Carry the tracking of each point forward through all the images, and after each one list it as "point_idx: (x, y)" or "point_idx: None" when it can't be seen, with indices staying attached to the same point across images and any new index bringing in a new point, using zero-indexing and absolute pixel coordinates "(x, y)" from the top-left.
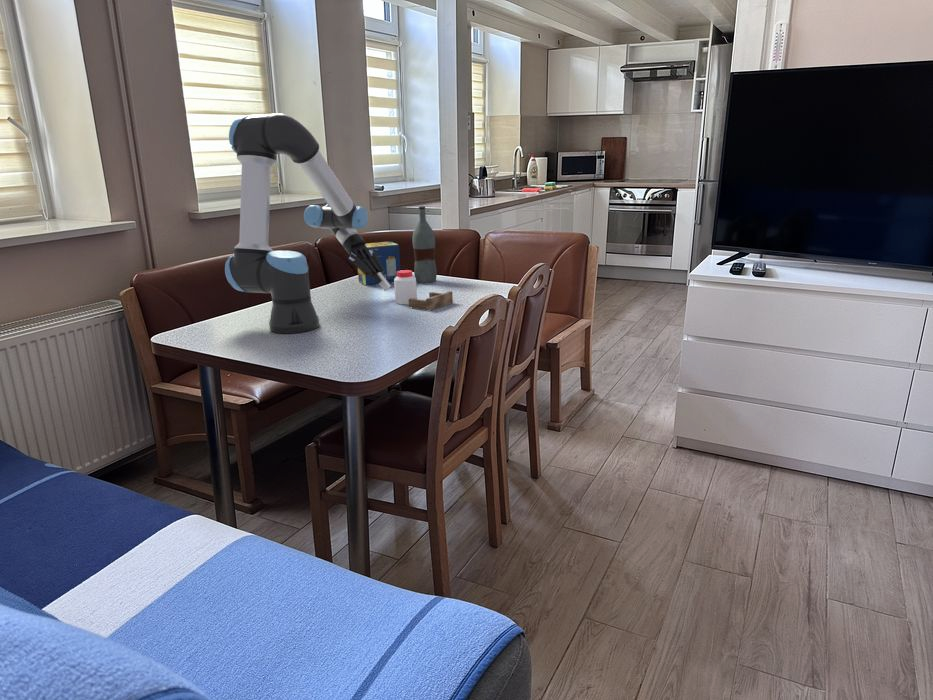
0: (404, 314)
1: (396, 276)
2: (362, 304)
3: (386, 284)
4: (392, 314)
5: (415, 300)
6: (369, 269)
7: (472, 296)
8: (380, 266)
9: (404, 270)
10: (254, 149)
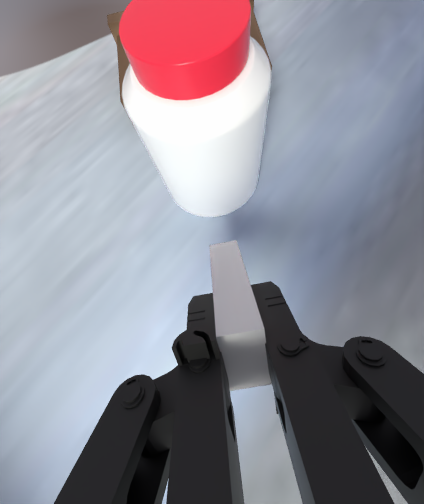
0: (338, 44)
1: (234, 89)
2: (389, 293)
3: (238, 248)
4: (372, 66)
5: (262, 42)
6: (393, 392)
7: (23, 85)
8: (128, 442)
9: (150, 44)
10: None
